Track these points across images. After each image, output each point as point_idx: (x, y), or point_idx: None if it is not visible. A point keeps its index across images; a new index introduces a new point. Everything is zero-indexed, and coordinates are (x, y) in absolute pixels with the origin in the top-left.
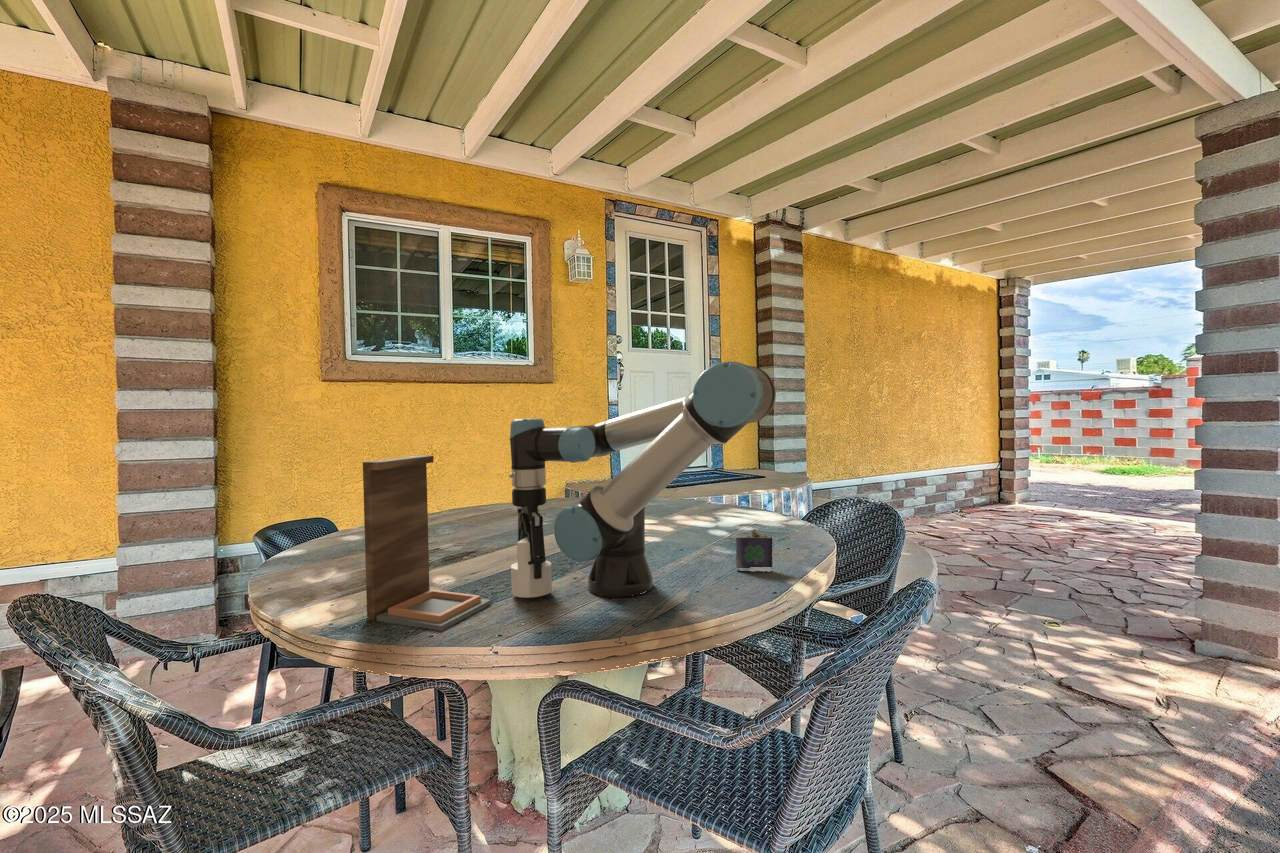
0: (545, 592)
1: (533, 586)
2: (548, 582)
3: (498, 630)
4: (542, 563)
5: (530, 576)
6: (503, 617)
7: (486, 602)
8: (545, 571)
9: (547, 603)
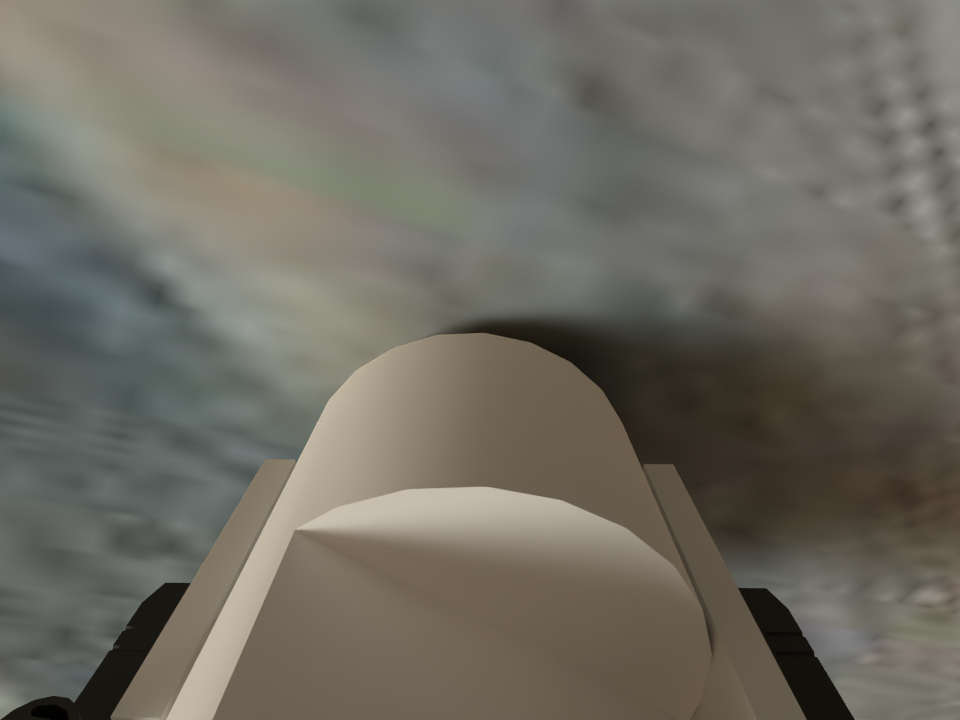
0: (624, 428)
1: None
2: (621, 440)
3: (921, 691)
4: (800, 714)
5: None
6: None
7: None
8: (675, 556)
9: (694, 405)
